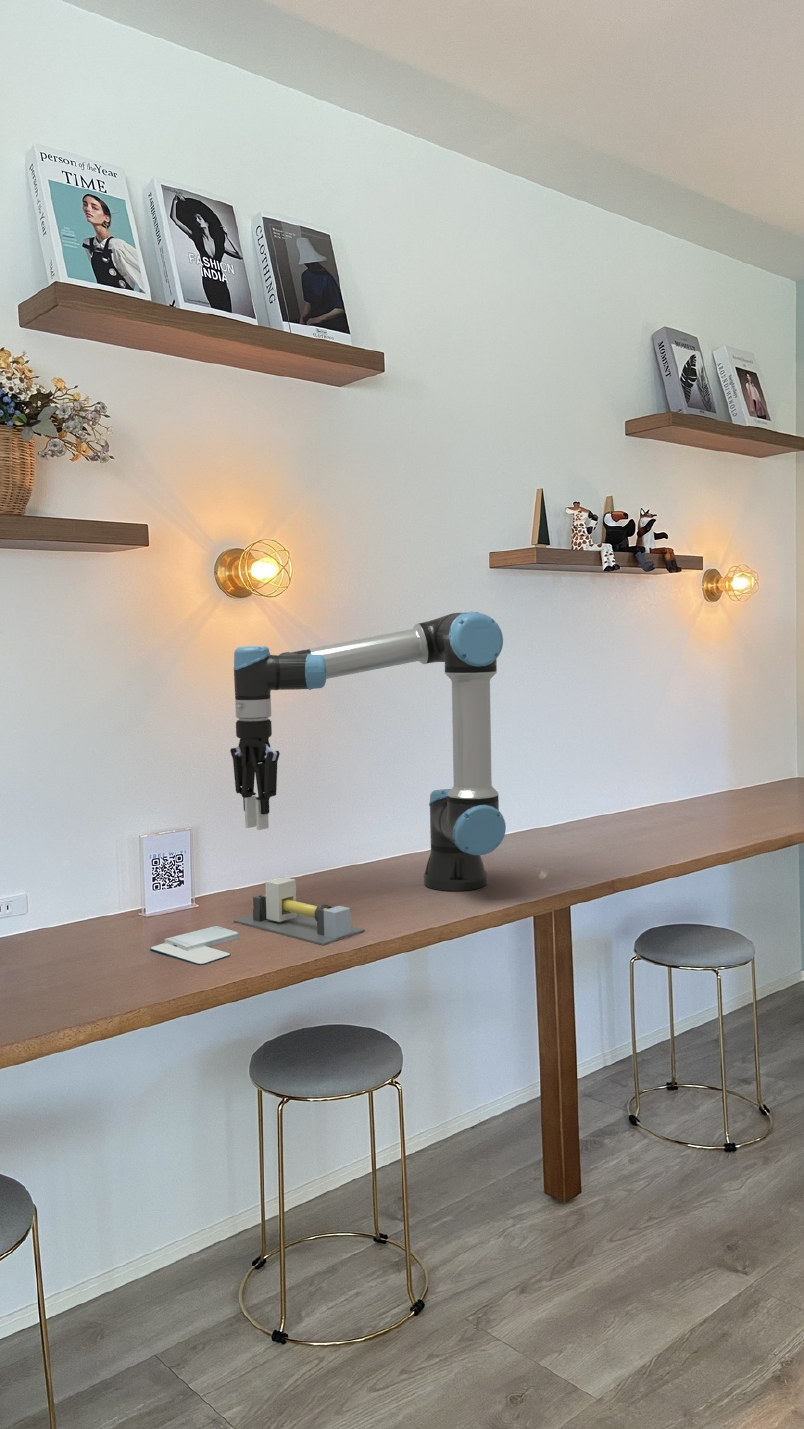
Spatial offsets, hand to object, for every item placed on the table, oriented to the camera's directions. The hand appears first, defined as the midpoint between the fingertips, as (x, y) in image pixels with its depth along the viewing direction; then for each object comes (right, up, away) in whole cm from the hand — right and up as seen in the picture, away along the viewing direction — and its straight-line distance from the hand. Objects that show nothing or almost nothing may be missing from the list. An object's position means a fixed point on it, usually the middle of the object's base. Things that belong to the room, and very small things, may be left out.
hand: (257, 827), depth 228 cm
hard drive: (-9, -22, -15) cm, 28 cm away
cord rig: (+9, -20, -6) cm, 23 cm away
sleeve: (+6, -19, -3) cm, 20 cm away
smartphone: (-10, -23, -22) cm, 33 cm away
